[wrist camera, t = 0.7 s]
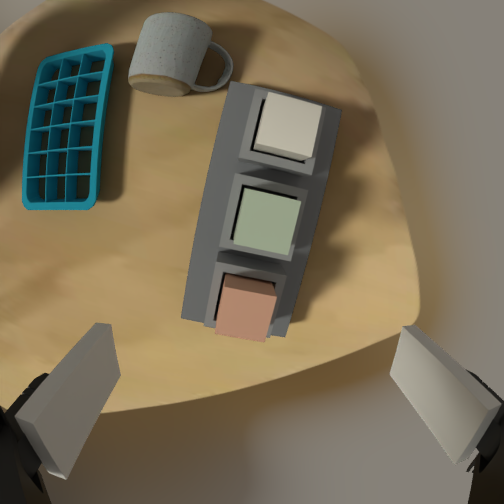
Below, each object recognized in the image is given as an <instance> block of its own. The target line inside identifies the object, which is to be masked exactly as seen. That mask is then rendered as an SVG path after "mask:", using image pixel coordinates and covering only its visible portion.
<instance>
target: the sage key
mask: <svg viewBox="0 0 504 504" xmlns="http://www.w3.org/2000/svg"><path fill="white" fill-rule="evenodd" d="M300 204H301V201H298V200H294V199H290V198H286V197H282V196H278V195H273V194H269V193H265V192H260V191H256V190H252V189H247V188H244V191H243V195H242V200H241V204H240V209H239V213H238V218H237V222H236V227H235V232H234V244H236V245H241V246H246V247H251V248H255V249H260V250H265V251H270V252H274V253H279V254H284V255H288V253H289V249H290V245H291V241H292V237H293V233H294V229H295V225H296V221H297V217H298V213H299V209H300Z"/></svg>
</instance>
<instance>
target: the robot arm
mask: <svg viewBox="0 0 504 504" xmlns="http://www.w3.org/2000/svg"><path fill="white" fill-rule="evenodd" d="M120 376H121V374H120V369H119V365H118V360H117V355H116V350H115V344H114V339H113V333H112V327H111V324H104V323H95V324H94V325H93V327H92V328H91V329H90V330H89V331H88V332H87V333H86V334H85V335H84V336H83V337H82V338H81V339H80V340H79V342H78V343H77V344H76V345H75V346H74V347H73V348H72V349H71V350H70V351H69V353H68V354H67V355H66V356H65V357H64V358H63V359H62V360H61V362H60V363H59V364H58V365H57V366H56V367H55V368H54V369H53V371H52V372H51V373H50V374H47V373H44V374H42V375H40V376H38V377H37V378H35V379H34V380H33V381H32V382H31V383H30V384H29V386H28V388H26V389H25V390H24V391H23V392H22V395H20V396H19V397H18V398H17V399H16V401H15V402H14V403H13V404H12V405H11V406H10V408H9V409H8V410H7V411H6V412H5V414H4V412H3V410H2V408H1V406H0V504H52V503H51V501H50V498H49V496H48V493H47V490H46V487H45V484H44V481H43V478H42V475H41V473H40V471H39V470H38V468H39V466H40V465H41V463H42V464H43V465H44V467H45V468H46V470H47V471H48V473H51V474H53V475H56V476H58V477H61V478H64V479H66V480H67V478H68V476H69V473H70V471H71V469H72V467H73V465H74V463H75V461H76V459H77V457H78V455H79V453H80V451H81V449H82V447H83V445H84V443H85V441H86V439H87V437H88V435H89V433H90V431H91V429H92V428H93V426H94V424H95V422H96V420H97V418H98V416H99V414H100V412H101V410H102V409H103V407H104V405H105V403H106V401H107V399H108V397H109V396H110V394H111V392H112V390H113V388H114V387H115V385H116V383H117V381H118V379H119V378H120ZM390 376H391V377H392V378H393V380H394V381H395V382H396V384H397V385H398V386H399V388H400V389H401V391H402V392H403V393H404V395H405V396H406V397H407V399H408V400H409V401H410V403H411V404H412V406H413V407H414V408H415V410H416V411H417V412H418V414H419V415H420V417H421V418H422V419H423V421H424V422H425V423H426V425H427V426H428V428H429V429H430V431H431V432H432V433H433V435H434V436H435V438H436V439H437V441H438V442H439V443H440V445H441V446H442V448H443V449H444V451H445V452H446V454H447V455H448V456H449V458H450V459H451V461H452V462H453V464H454V465H455V464H458V463H460V462H462V461H464V460H466V459H468V458H469V457H470V455H471V454H472V452H473V451H474V449H475V448H477V449H478V451H479V453H478V455H477V456H476V458H475V459H474V460H473V462H472V463H471V464H470V466H469V467H468V469H467V472H469V471H470V469H471V468H472V467H473V466H474V470H473V471H472V473H473V480H472V485H471V491H470V495H469V500H468V504H504V401H503V400H502V399H501V398H500V397H499V396H498V395H497V394H496V393H495V392H494V391H493V390H492V389H491V388H488V386H487V385H486V384H485V383H484V382H482V380H481V379H480V378H479V377H478V376H477V375H475V374H474V373H472V372H470V371H468V370H466V369H464V368H463V367H462V366H461V365H460V364H459V363H458V362H457V361H455V360H454V359H453V358H452V357H451V356H450V355H449V354H448V353H447V352H445V351H444V350H443V349H442V348H441V347H440V346H439V345H438V344H436V343H435V342H434V341H433V340H432V339H431V338H430V337H428V336H427V335H426V334H425V333H424V332H423V331H421V330H420V329H419V328H418V327H417V326H416V325H411V326H402V331H401V335H400V339H399V343H398V346H397V350H396V354H395V357H394V361H393V365H392V368H391V372H390Z"/></svg>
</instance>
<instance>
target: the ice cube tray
mask: <svg viewBox="0 0 504 504" xmlns="http://www.w3.org/2000/svg"><path fill="white" fill-rule="evenodd" d="M113 55H114V49H113V46H112V45H110V44H108V43H105V44H100V45H95V46H90V47H85V48H80V49H76V50H72V51H68V52H64V53H60V54H56V55H53V56H49V57H46V58H45V59H44V60H43V61H42V62H41V63H40V65H39V67H38V70H37V74H36V78H35V83H34V87H33V92H32V97H31V103H30V109H29V115H28V122H27V129H26V137H25V147H24V159H23V177H22V202H23V205H24V207H25V208H26V209H27V210H89V209H90V208H91V207H93V206H94V205H95V202H96V200H97V197H98V194H99V191H100V174H101V158H102V145H103V135H104V126H105V117H106V110H107V103H108V96H109V90H110V84H111V78H112V73H113V68H114V63H113ZM102 60H105V64H104V68H103V71H101V72H94V73H90V70H91V65H92V62H96V61H102ZM75 65H80V69H79V73H78V76H73V77H70V75H71V71H72V66H75ZM58 69H60V72H59V77H58V80H54V81H51V79H52V76H53V74H54V72H55V71H56V70H58ZM94 81H101V84H100V90H99V95H93V96H86V90H87V85H88V82H94ZM71 85H76V89H75V94H74V98H73V99H68V100H66V96H67V90H68V86H71ZM52 89H56V92H55V97H54V102H52V103H47V99H48V94H49V90H52ZM85 96H86V97H85ZM91 103H97V109H96V117H95V120H88V121H82V116H83V109H84V104H91ZM71 106H72V113H71V120H70V123H65V124H62V122H63V115H64V108H65V107H71ZM48 110H52V116H51V123H50V126H46V127H43V125H44V118H45V111H48ZM90 126H94V134H93V144H92V146H85V147H79V143H80V133H81V127H90ZM64 129H69V137H68V148H63V149H60V139H61V130H64ZM44 132H49V140H48V150H45V151H41V142H42V133H44ZM89 150H92V156H91V171H90V173H77V169H78V154H79V151H89ZM65 152H67V160H66V174H58V163H59V153H65ZM46 154H47V163H46V175H44V176H39V168H40V155H46ZM81 175H90V193H89V196H88V198H76V197H77V176H81ZM61 176H66V178H65V199H57V184H58V177H61ZM45 177H46V185H45V199H42V198H41V197H40V195H39V178H45Z"/></svg>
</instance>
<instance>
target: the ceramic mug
mask: <svg viewBox="0 0 504 504" xmlns="http://www.w3.org/2000/svg"><path fill="white" fill-rule="evenodd" d="M211 37H212V30H211V28H210V27H209V26H208V25H207V24H206V23H205V22H203V21H201V20H199V19H197V18H195V17H192V16H189V15H185V14H181V13H173V12H165V13H157V14H154V15H151V16H149V17H148V18H147V19H146V20H145V22H144V25H143V28H142V31H141V33H140V36H139V39H138V43H137V46H136V49H135V52H134V55H133V59H132V62H131V65H130V69H129V76H128V81H129V84H130V85H131V86H132V87H133V88H135V89H136V90H139V91H142V92H145V93H149V94H154V95H160V96H169V97H178V96H183V95H185V94H187V93H189V92H190V90H191V89H192V90H195V91H199V92H210V91H214V90H217V89H219V88H220V87H222V86H223V85H225V84H226V83H227V81H228V80H229V79H230V77H231V74H232V72H233V61H232V58H231V57H230V55H229V53H228V52H227V51H226V50H225V49H224V48H223V47H221V46H220V45H218V44H216V43H214V42H212V41H211ZM207 48H210V49H212V50H214V51H216V52H217V53H218V54H220V55H221V56H222V58H223V59H224V61H225V69H224V72H223V74H222V76H221V78H220V79H219V80H218V83H217V85H215V86H211V87H206V86H200V85H196V84H195V81H196V78H197V75H198V72H199V69H200V66H201V63H202V61H203V58H204V56H205V53H206V50H207Z"/></svg>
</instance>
